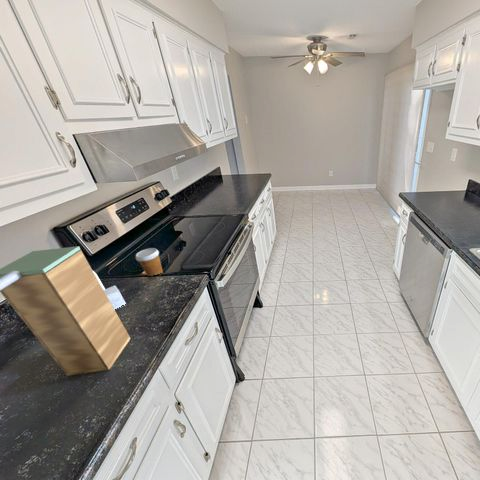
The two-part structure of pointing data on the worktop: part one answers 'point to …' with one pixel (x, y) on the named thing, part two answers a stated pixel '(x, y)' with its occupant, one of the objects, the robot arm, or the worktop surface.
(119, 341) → the tall bin
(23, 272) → the sliding top
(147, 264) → the disposable coffee cup
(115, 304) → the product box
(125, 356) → the worktop surface
